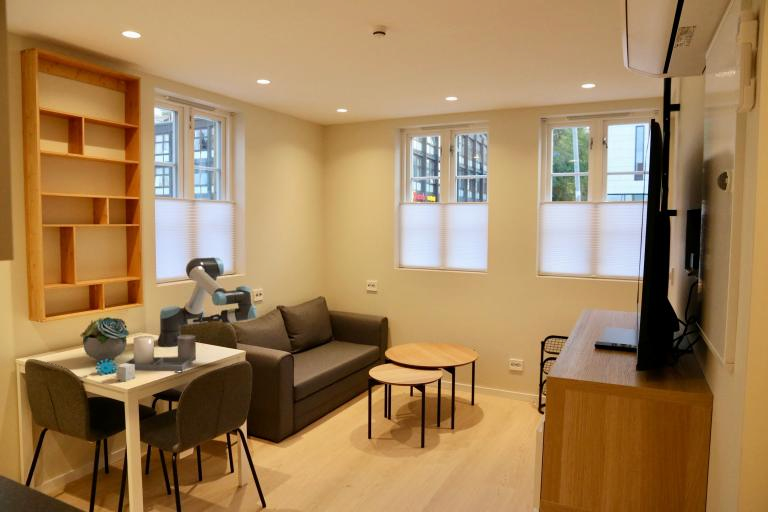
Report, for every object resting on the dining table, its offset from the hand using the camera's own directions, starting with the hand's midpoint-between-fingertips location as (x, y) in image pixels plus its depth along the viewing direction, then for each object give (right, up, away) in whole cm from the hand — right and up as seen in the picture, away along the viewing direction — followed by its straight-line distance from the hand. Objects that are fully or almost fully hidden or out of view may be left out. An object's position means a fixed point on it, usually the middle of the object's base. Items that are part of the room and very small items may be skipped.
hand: (192, 321), depth 300 cm
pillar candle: (-3, -22, 0) cm, 23 cm away
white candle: (-20, -22, -16) cm, 34 cm away
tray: (-13, -23, -16) cm, 31 cm away
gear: (-32, -24, -31) cm, 50 cm away
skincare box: (-20, -25, -37) cm, 49 cm away
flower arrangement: (-46, -21, -6) cm, 51 cm away
